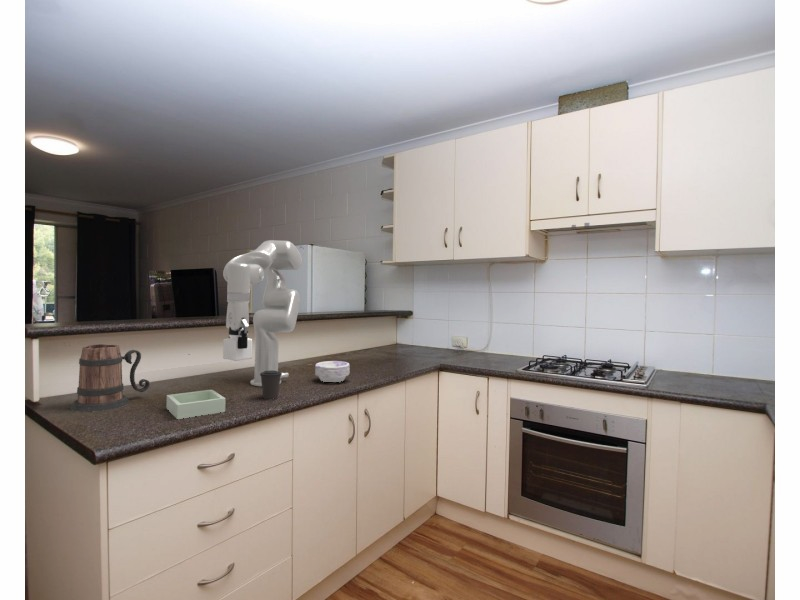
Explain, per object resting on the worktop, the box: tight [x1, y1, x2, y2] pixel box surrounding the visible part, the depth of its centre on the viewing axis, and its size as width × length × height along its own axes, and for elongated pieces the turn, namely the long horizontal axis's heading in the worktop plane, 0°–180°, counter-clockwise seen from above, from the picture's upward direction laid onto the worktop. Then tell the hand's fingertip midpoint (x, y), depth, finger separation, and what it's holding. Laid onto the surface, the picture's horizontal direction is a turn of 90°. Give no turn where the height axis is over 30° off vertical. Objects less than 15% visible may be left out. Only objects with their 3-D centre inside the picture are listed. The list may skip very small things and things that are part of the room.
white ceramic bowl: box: [314, 360, 351, 383], centre depth 191 cm, size 15×15×8 cm
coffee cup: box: [260, 370, 283, 400], centre depth 160 cm, size 8×8×10 cm
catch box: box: [166, 389, 227, 420], centre depth 142 cm, size 14×14×4 cm
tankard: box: [69, 343, 150, 413], centre depth 147 cm, size 24×17×20 cm
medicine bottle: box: [222, 327, 253, 362], centre depth 153 cm, size 7×7×12 cm
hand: (237, 346), depth 153 cm, fingers closed on medicine bottle, 8 cm apart
